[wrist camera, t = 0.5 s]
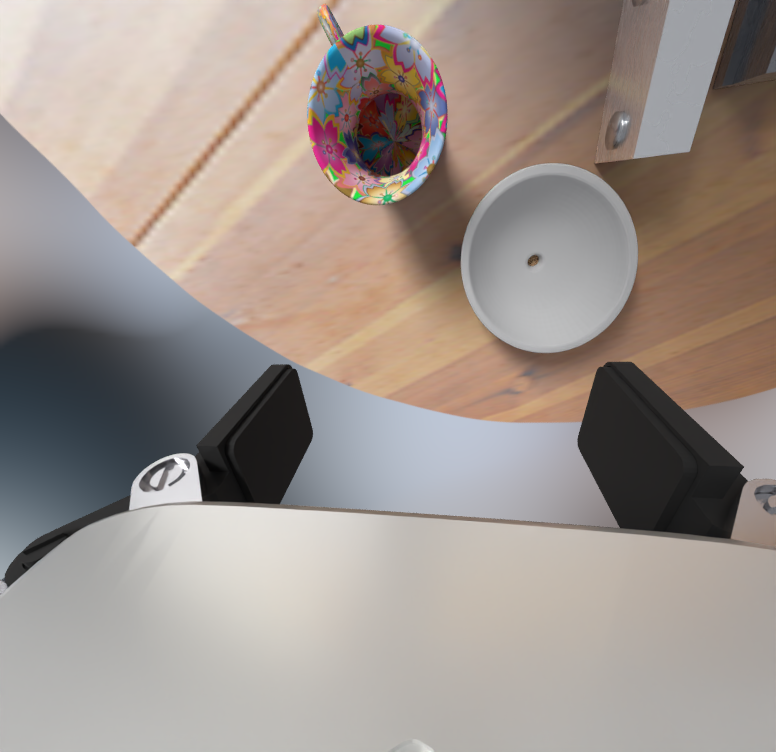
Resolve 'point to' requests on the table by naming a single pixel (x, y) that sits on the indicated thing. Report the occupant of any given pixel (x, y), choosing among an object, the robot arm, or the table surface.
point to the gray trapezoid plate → (660, 76)
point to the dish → (549, 258)
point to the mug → (376, 112)
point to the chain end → (750, 46)
